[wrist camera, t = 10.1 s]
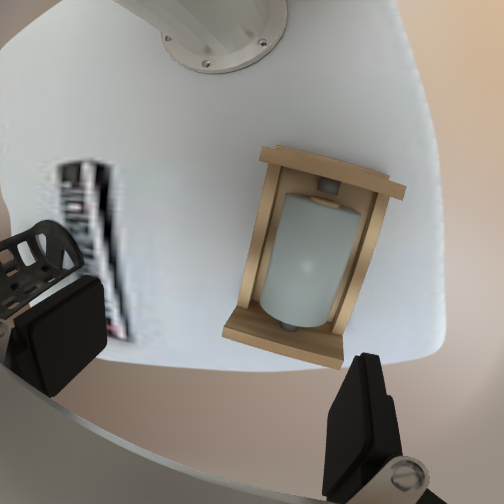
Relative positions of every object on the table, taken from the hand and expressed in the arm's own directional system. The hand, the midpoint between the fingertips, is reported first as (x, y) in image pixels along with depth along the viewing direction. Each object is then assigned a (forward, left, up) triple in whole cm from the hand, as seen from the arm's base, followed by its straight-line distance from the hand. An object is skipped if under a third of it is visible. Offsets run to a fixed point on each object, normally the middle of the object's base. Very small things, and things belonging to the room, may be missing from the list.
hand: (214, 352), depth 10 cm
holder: (+11, -28, -20) cm, 36 cm away
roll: (+1, +3, -18) cm, 19 cm away
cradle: (+1, +3, -19) cm, 20 cm away
